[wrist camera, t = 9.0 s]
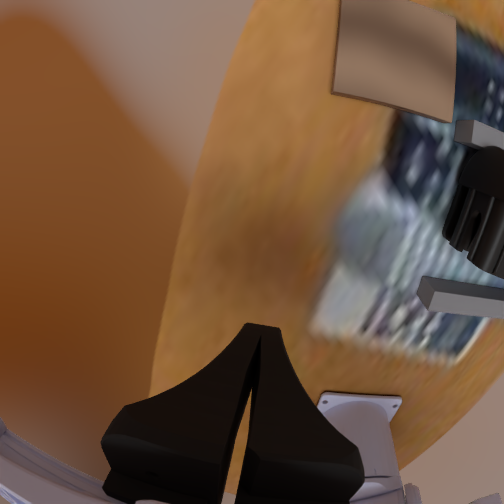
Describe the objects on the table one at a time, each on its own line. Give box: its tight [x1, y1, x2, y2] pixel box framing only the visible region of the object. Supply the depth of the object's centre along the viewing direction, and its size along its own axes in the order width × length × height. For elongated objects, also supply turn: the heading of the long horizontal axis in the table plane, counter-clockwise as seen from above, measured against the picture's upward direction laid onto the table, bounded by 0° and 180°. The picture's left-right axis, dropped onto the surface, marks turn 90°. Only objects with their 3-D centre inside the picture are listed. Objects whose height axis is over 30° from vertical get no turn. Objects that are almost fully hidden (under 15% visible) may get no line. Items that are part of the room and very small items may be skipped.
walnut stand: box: [331, 0, 456, 123], centre depth 15 cm, size 8×8×1 cm
